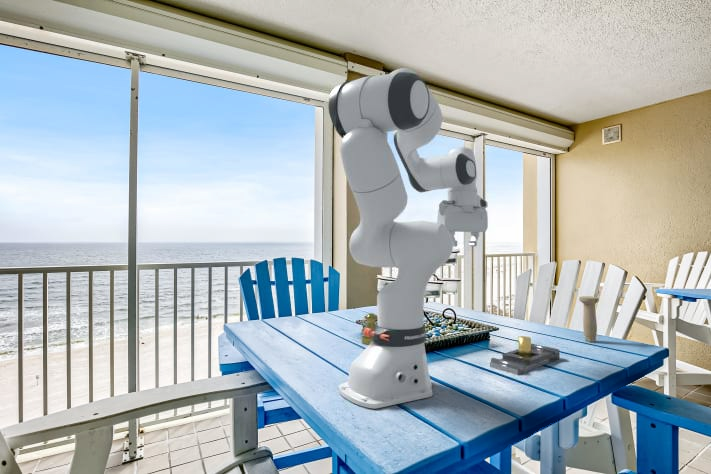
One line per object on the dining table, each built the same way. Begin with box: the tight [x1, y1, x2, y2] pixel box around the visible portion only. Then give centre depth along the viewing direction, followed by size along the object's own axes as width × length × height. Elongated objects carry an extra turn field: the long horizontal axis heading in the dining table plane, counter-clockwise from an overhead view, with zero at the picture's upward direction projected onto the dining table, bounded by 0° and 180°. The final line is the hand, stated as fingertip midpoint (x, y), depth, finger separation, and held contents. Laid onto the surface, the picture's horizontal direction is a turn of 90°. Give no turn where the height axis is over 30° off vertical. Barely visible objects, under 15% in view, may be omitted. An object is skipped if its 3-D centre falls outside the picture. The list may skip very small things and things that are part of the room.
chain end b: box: [502, 343, 561, 365], centre depth 103 cm, size 16×9×3 cm, turn 125°
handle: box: [578, 295, 600, 343], centre depth 124 cm, size 5×6×15 cm
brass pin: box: [517, 335, 532, 358], centre depth 102 cm, size 3×3×7 cm
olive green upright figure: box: [360, 312, 377, 345], centre depth 127 cm, size 7×7×10 cm
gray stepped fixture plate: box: [489, 357, 549, 376], centre depth 100 cm, size 16×9×2 cm, turn 125°
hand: (463, 246), depth 111 cm, fingers open, 8 cm apart
